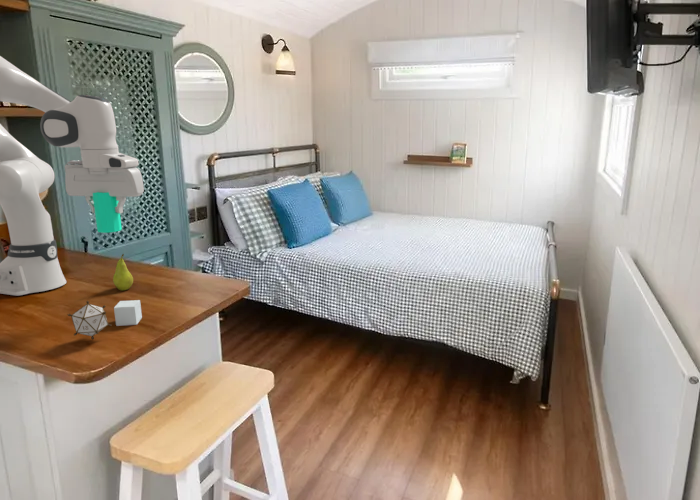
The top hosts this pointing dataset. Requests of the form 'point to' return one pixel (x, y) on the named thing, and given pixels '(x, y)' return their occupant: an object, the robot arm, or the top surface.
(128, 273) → the fruit
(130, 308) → the grey block
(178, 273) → the top surface
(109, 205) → the candle
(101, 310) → the game die
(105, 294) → the top surface
